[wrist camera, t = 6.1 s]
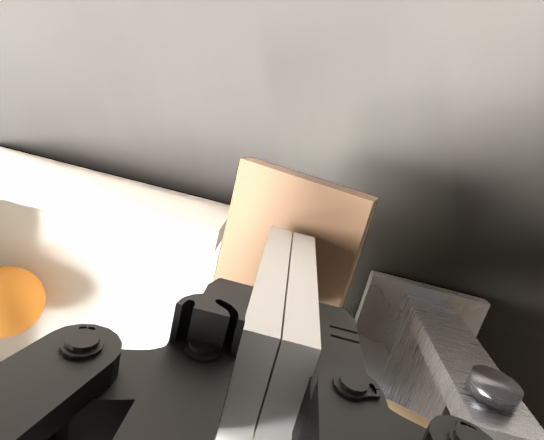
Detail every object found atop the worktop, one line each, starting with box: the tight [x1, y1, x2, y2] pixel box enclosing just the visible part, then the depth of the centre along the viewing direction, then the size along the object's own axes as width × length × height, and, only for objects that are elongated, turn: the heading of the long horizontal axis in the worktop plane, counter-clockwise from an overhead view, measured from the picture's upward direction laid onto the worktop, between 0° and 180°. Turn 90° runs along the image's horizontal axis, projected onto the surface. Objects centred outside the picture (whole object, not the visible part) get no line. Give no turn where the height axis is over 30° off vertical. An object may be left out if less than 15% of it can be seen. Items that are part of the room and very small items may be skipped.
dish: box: [0, 147, 230, 362], centre depth 20 cm, size 13×14×4 cm
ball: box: [0, 266, 46, 338], centre depth 20 cm, size 4×4×4 cm
